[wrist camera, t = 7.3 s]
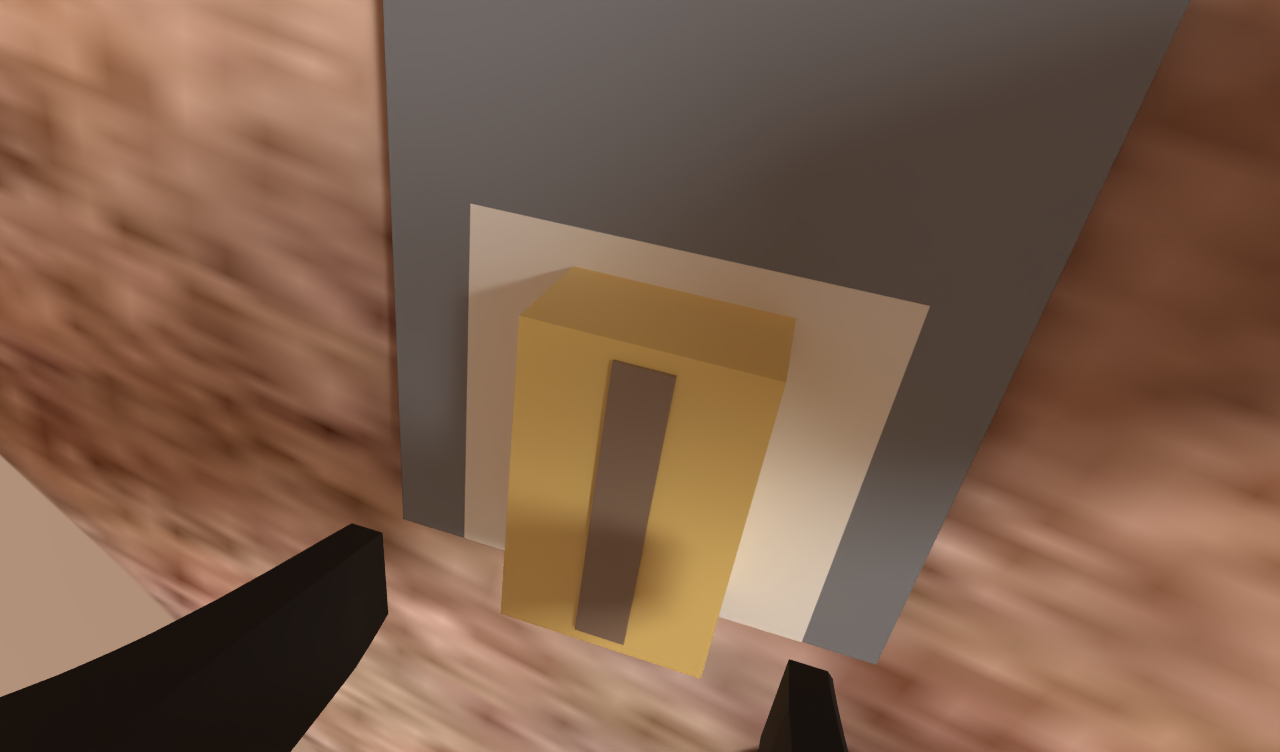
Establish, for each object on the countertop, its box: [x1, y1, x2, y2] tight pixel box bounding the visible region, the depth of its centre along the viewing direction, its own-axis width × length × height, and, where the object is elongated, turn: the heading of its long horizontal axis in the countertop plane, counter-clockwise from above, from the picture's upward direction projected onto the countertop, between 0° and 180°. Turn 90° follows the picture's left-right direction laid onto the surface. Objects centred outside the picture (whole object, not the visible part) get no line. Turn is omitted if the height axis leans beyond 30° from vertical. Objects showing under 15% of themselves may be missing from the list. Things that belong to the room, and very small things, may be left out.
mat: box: [383, 0, 1191, 664], centre depth 14 cm, size 14×23×1 cm, turn 172°
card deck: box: [501, 266, 796, 679], centre depth 15 cm, size 8×5×3 cm, turn 171°
